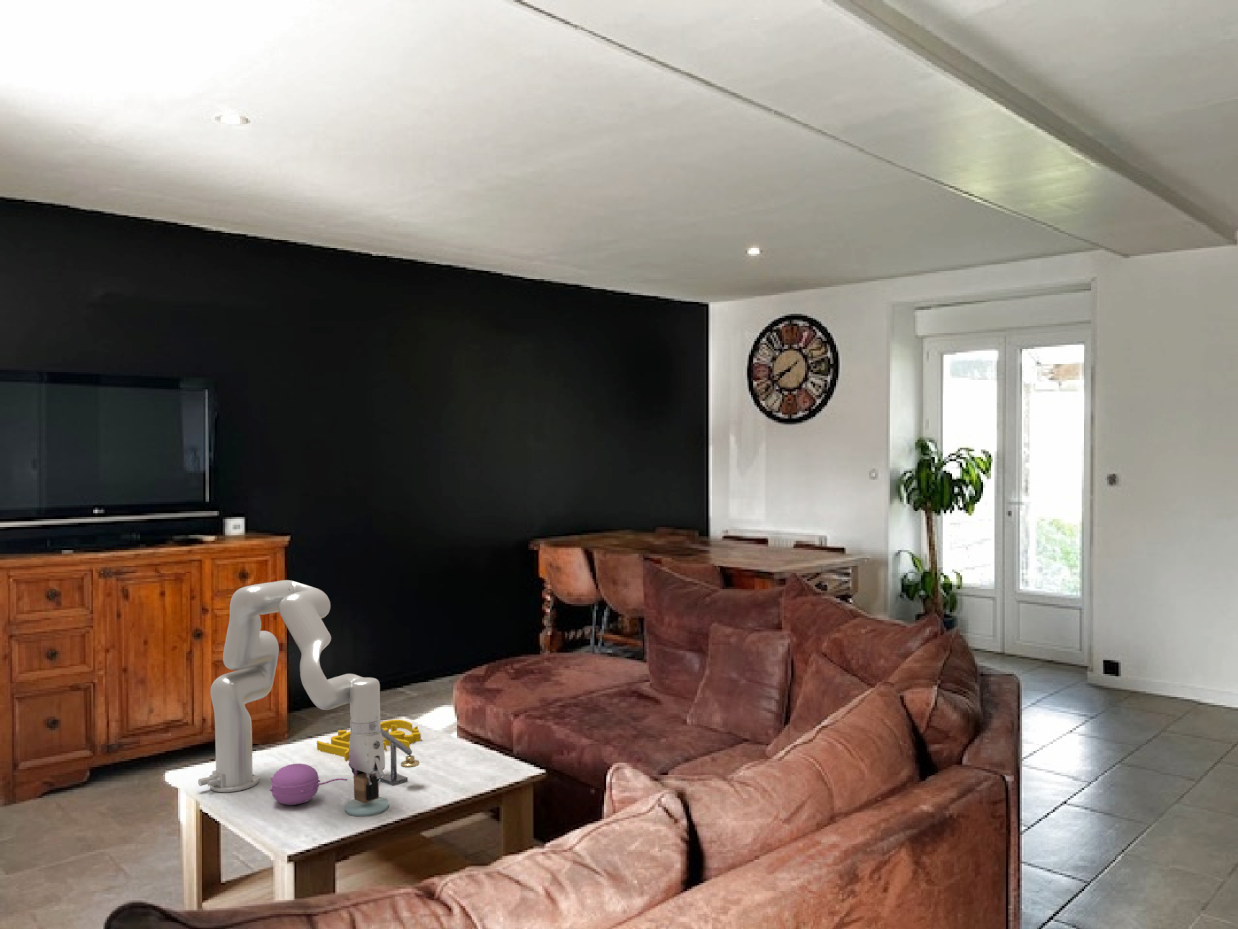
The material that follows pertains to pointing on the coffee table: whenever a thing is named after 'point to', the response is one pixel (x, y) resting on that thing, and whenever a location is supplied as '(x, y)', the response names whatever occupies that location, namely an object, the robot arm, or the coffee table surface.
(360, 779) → the walnut block
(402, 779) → the balance
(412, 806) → the coffee table surface
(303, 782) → the purple ovoid with tail
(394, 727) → the decorative art
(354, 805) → the dish
